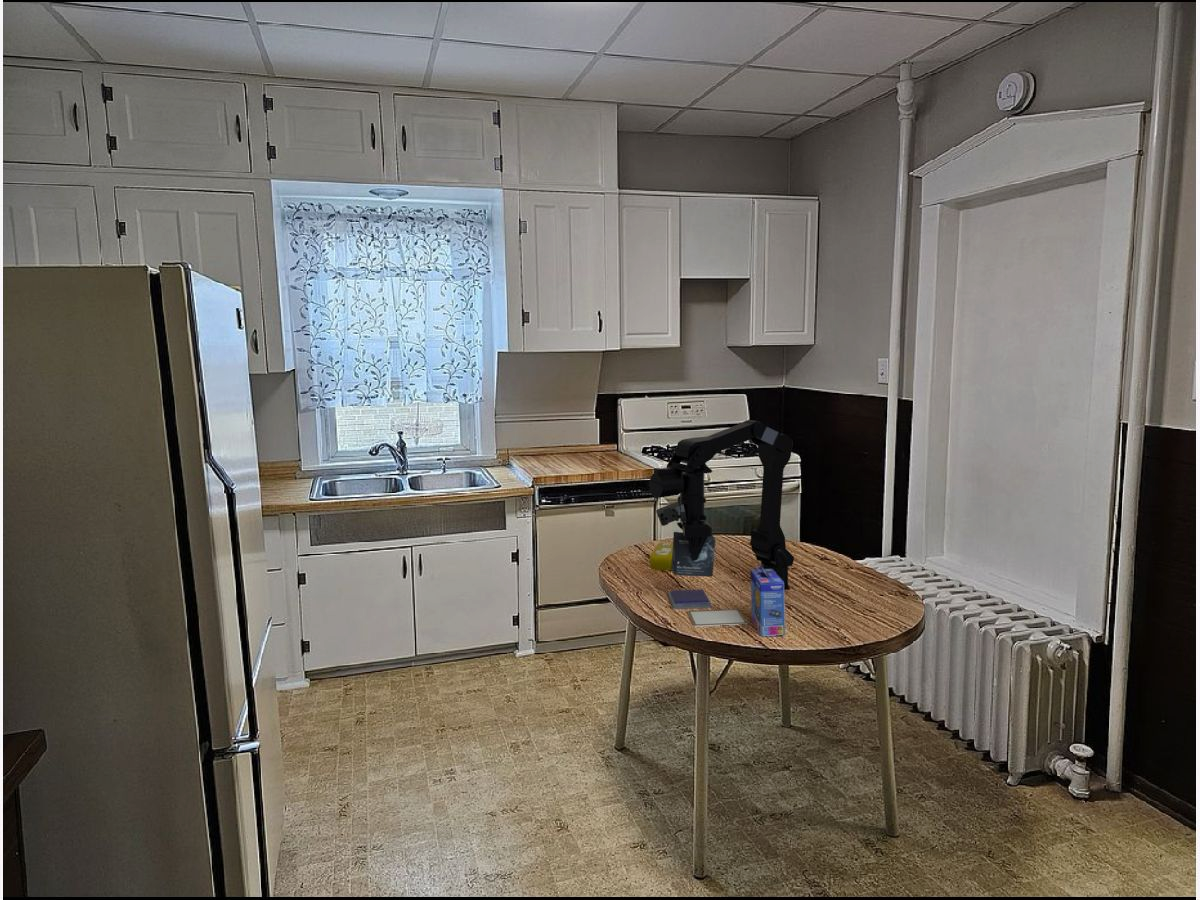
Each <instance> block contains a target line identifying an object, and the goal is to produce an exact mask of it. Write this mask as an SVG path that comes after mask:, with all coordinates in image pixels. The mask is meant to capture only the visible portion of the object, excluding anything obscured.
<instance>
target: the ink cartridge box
mask: <svg viewBox="0 0 1200 900" xmlns="http://www.w3.org/2000/svg"><path fill="white" fill-rule="evenodd" d="M757 564H758V566H759V567H760V568H761V569H759V568H754V569H753V568H751V569H750V596H751V597H750V599H751V600H750V601H751V603H750V606H751V607H750V608H751V610H750V611H751V622H752V623H754V624H753V625H754V627H755V629H756V628H757V629H756V631H757V632H758V634H759V636H760V637H761V636H767V637H777V636H776V635H785V636H786V617H785V616H786V615H785V614H786V612H785V589H784V582H783V580H782V579H781V578H780V577H779V576H778V575H777V574H776V572H775V571H774V570H773V569H763V568H762V567H761V563H759V562H758V563H757Z"/></svg>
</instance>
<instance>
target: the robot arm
mask: <svg viewBox="0 0 1200 900" xmlns="http://www.w3.org/2000/svg"><path fill="white" fill-rule="evenodd" d="M748 441H750V442H751V443H752V444H754V445H755V446H757V454H758V458H759V461H760V463H761V465H762V468H763V469H762V470H763V471H762V484H761V485H762V486H761V488H762V489H761V502H760V504H761V505H760V516H759V517H760V519H759V520H760V521H759V524H758V525H757V527H756V528H755V529H751V531H750V541H749V546H751V551H752V553H753V554H754V556H755V559H756V560H757V561H759V562H760V565H761V567H762V568H763V569H773V570H774V571H775V572H776V574H777V575H778V576H779V577H780V578H781V579H782V580H783V582H784V590H791V589H790V588H791V587H790V585H789V567H791V566H793V565H794V561H795V556H793V554H792V553H791V552H790V551H789V550H788V549H787V548H786V536H785V533H784V531H783V529H782V527H781V513H782V512H781V511H782V497H783V496H782V495H783V485H784V483H783V482H784V470H785V467H786V466H787V465H788V463H789V462H790V460H791V457H792V451H793V447H794V446H793V445H794V444H793V443H794V442H793V439H792V438H791V437H790V436H789V435H788V434H785V433H780V432H779V431H777V430H774V429H772V428H770V427H769V426H767V425H765V424H764V423H762V422H761V421H758V420H752V419H750V420H749V419H747V420H745V421H743V422H741V423H739V424H736V425H734V426H731V427H729V428H726V429H725V428H724V430H720V431H718V432H716V433H712V434H709V435H706V436H701V437H700V436H698V437H696V436H695V437H689V438H684V439H681V440H680V441H678V442H677V445H676V448H675V450H674V453H673V454H672V456H671V457H670V459H669V460H668V463H667V465H666V467H662V468H661V467H657V468H655V467H654V468H653V473H652V474H651V476H650V479H649V481H648V488H649V492H650V494H651V495H652V497H653V498H655V499H659V498H668V497H672V496H677V502H674V503H670V504H668V505H664V506H662V507H659V508H658V509H656V510H655V513H656V515H657V517H658V520H659V523H660V525H661V526H662V527H665V526H667V525H669V524H670V523H673V522H675V521H676V524H677V526H678V528H680V529H681V531H682V534H683V536H684V537H685V538H687V539H688V541H689V546H690V551H691V556H692V560H693V561H694V560H697V559H698V557H699V555H700V552H701V550H702V548H703V546H704V544H705V542H706V540H707V538H708V537H710V536H712V535H713V527H712V526H711V524H709V523H708V522H707V521H706V520H707V515H706V514H705V504H706V503H707V499H706V497H705V474H711V473H712V472H713V469H712V468H710V467H709V466H708V465H707V462H710V461H711V460H712V459H714V456H716V454H719V453H720V452H722V451H725V450H728V449H730V448H732V447H736V446H737V445H740V444H742V443H745V442H748ZM679 520H680V522H679ZM758 569H761V568H760V566H759V567H758Z"/></svg>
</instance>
